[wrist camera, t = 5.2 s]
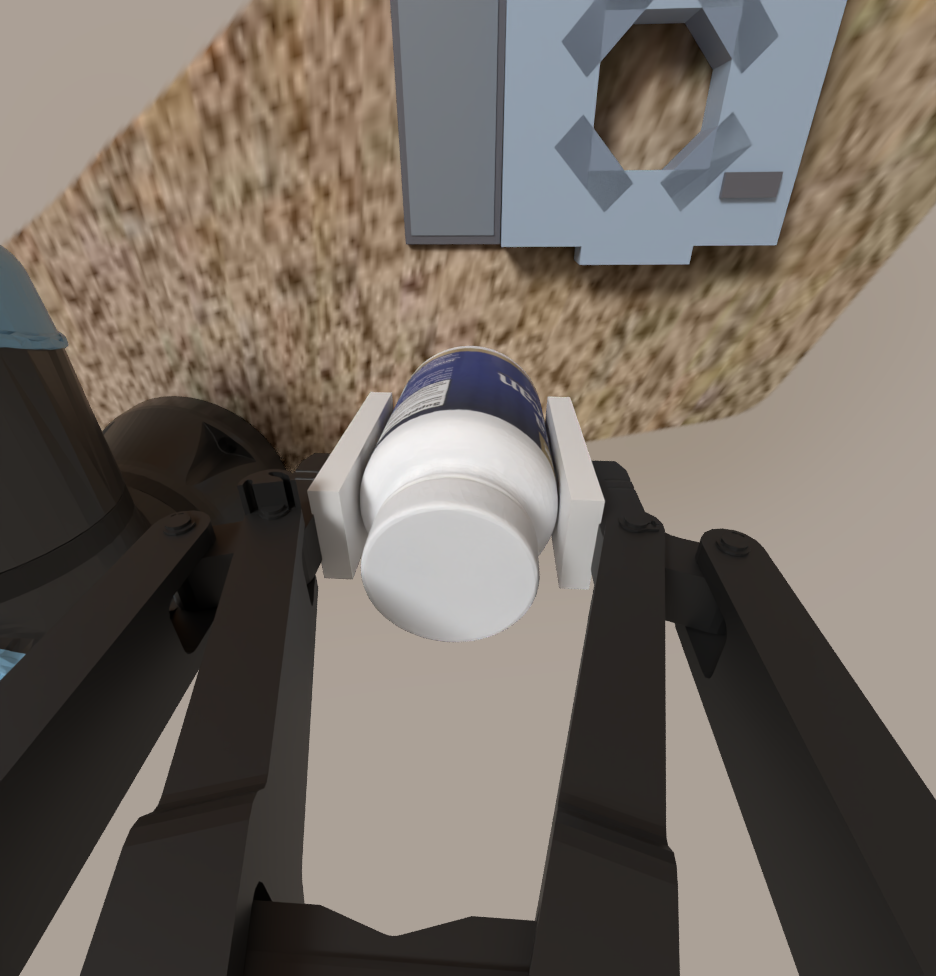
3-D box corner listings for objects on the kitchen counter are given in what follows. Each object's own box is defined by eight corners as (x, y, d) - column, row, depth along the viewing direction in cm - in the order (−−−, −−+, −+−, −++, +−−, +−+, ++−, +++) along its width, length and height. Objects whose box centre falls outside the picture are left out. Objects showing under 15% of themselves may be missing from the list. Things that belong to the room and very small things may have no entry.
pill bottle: (567, 423, 19) (621, 603, 11) (462, 493, 21) (437, 692, 13) (482, 310, 17) (467, 423, 9) (374, 399, 19) (276, 563, 11)
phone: (499, 242, 32) (499, 244, 31) (408, 242, 32) (405, 244, 31) (506, -14, 25) (506, -22, 24) (392, -11, 26) (388, -19, 25)
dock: (500, 260, 32) (500, 265, 29) (508, -106, 23) (510, -140, 21) (751, 258, 31) (773, 264, 29) (853, -120, 23) (895, -156, 20)
